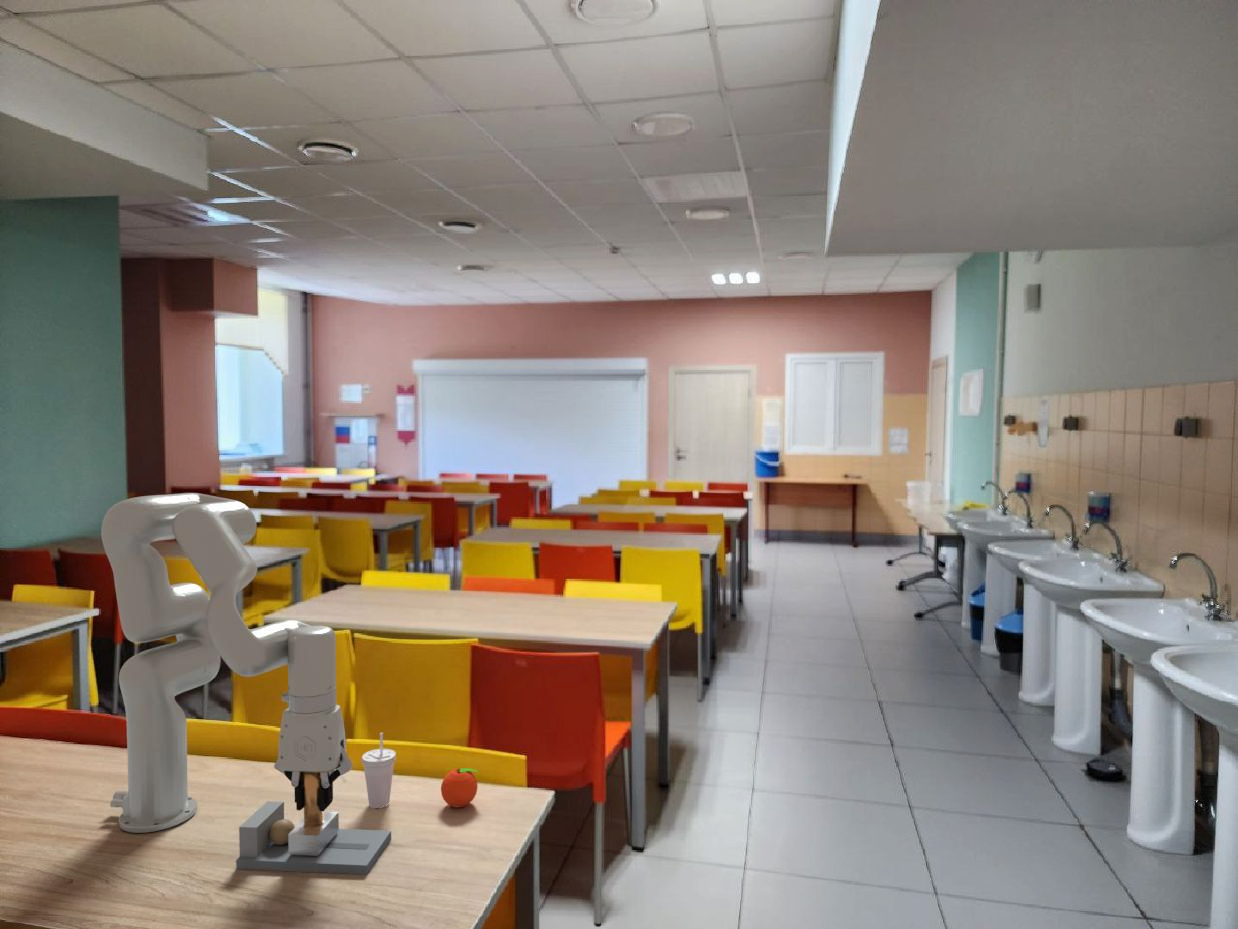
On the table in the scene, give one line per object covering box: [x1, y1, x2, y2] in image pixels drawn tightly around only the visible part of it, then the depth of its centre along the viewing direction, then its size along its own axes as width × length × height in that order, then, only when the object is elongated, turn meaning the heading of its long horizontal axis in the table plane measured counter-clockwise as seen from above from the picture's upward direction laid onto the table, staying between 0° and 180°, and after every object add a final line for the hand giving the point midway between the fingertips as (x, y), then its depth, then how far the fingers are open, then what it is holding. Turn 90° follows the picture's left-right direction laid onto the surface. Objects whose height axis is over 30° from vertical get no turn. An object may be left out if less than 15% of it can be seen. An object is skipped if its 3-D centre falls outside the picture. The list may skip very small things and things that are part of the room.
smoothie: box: [361, 732, 397, 809], centre depth 150 cm, size 6×6×14 cm
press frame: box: [235, 800, 392, 875], centre depth 132 cm, size 22×11×6 cm, turn 86°
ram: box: [288, 772, 340, 856], centre depth 132 cm, size 5×8×15 cm, turn 176°
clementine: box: [440, 767, 479, 808], centre depth 150 cm, size 8×7×7 cm
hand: (314, 806), depth 132 cm, fingers closed on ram, 3 cm apart
